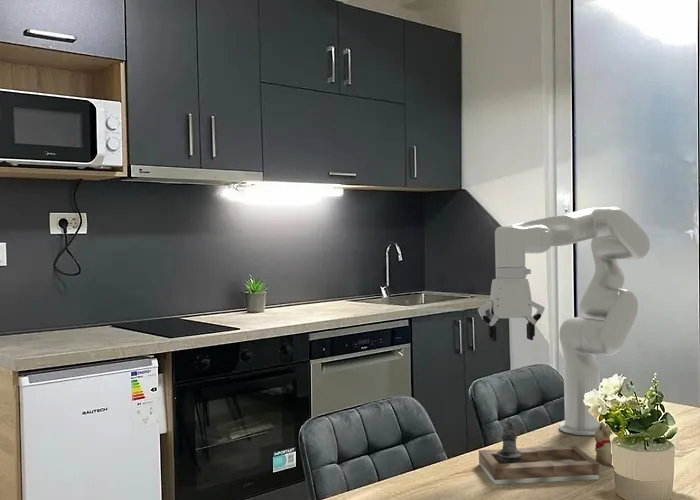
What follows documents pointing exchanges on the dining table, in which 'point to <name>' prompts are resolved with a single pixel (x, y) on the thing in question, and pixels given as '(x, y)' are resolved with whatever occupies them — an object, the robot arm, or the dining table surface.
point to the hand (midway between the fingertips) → (511, 340)
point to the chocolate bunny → (603, 445)
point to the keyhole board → (540, 465)
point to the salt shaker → (509, 445)
